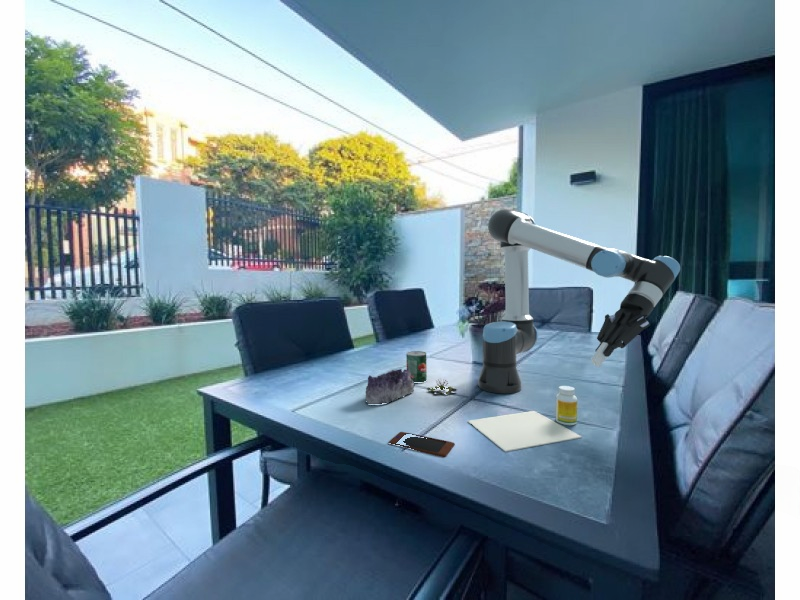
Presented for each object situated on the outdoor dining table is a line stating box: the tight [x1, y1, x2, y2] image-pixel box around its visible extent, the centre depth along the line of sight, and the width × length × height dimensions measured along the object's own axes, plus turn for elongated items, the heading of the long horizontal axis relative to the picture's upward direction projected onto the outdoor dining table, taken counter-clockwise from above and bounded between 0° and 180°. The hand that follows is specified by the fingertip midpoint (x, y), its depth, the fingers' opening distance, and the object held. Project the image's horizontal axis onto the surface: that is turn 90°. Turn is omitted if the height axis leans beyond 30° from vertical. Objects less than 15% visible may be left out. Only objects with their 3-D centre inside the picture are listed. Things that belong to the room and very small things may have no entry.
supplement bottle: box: [555, 385, 578, 426], centre depth 97 cm, size 5×5×10 cm
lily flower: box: [427, 379, 455, 395], centre depth 125 cm, size 12×12×5 cm
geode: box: [364, 368, 415, 404], centre depth 119 cm, size 20×12×10 cm, turn 144°
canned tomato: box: [406, 350, 428, 382], centre depth 138 cm, size 8×8×11 cm
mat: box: [467, 410, 583, 453], centre depth 93 cm, size 22×18×1 cm
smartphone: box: [387, 431, 456, 458], centre depth 86 cm, size 7×1×15 cm
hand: (594, 363), depth 98 cm, fingers closed
